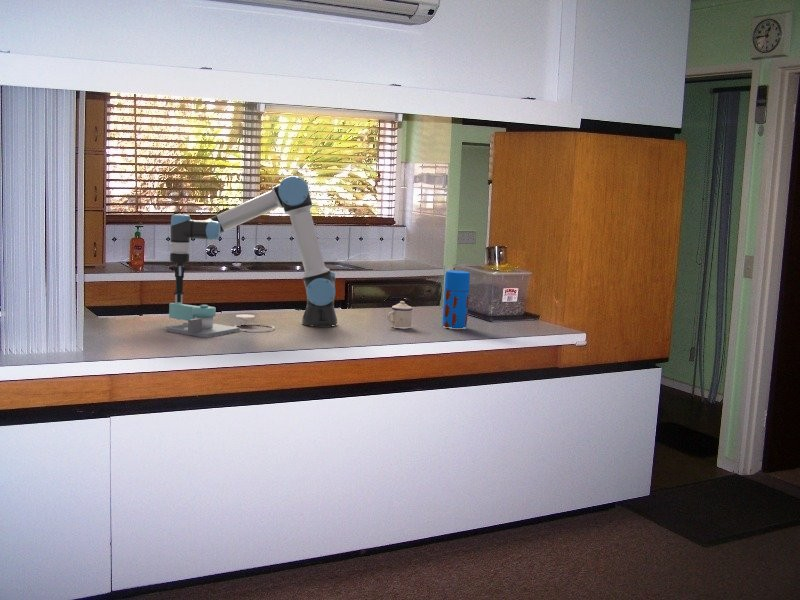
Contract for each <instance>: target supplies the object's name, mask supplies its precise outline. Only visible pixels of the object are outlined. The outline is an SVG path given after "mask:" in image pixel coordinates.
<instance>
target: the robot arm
mask: <svg viewBox="0 0 800 600" xmlns="http://www.w3.org/2000/svg"><path fill="white" fill-rule="evenodd" d="M312 207H313V202H312V199H311V195H310V190H309V186H308V183H307V182H306V180H305V179H304V178H302V177H301V176H298V175H289V176H286V177H285V178H283V179H282V180H281V182H280V183H278V184H277V185H275V186H273V187H271V190H270V191H267V192H265V193H262V194H261V195H259V196H256V197H254V198H252V199H249V200H247V201H244V202H243V203H241V204H238V205H236V206H234V207H231V208H230V209H227V210H225V211H223V212H221V213H218V214H216V215H213V216H212V217H209V218H207V219H205V220H204V219H203V220H202V219H201V220H197V219H196V220H195V219H191V216H190V215H189V214H183V213H182V214H180V213H179V214H178V213H176V214H175V213H174V214H172V215H171V218H170V219H171V220H170V243H169V244H168V247H170V254H169V261H170V262H171V263H176V264H175V265H174V277H175V290H174V293H173V295H174V296H175V298H174V299H175V302H174V303H179V304H183V294H185V292H184V291H183V286H184V277H185V269H186V268H185V266H184V264H187V263H189V262H190V250H191V249H190V245H191V242H190V241H191V240H190V239H195V240H196V239H199V240H210V241H211V240H213V241H214V240H219V239H220V236H221V234H222V233H224V232H226V231H228V230H230V229H233V228H236V227H237V226H240V225H243V223H246V222H249V221H251V220H253V219H255V218H257V217H260V216H262V215H264V214H267V213H269V212H271V211H273V210H276V209H277V208H281V209H283V211H284V213H285V214H287V215H288V216H289V218H290V222H291V225H292V230H293V233H294V236H295V240H296V244H297V248H298V250H299V255H300V259H301V262H302V266H303V270H304V274H303V275H302V279H303V283H304V287H305V291H306V293H305V294H306V307H305V310H304V312H303V315H302V319H301V324H302V323H303V324H306V325H305V326H307V325H313V326H312V327H314V326H332V325H336V324H337V325H338V317H337V314H336V311H335V297H336V293H337V291H336V273H335V272H333V271H331V269H330V268H328V267H326V265H325V260H324V256H323V253H322V249H321V246H320V243H319V239H318V236H317V231H316V228H315V224H314V219H313V217H312V212H311V209H312ZM303 324H302V325H303ZM337 325H336V326H337ZM332 327H333V326H332Z"/></svg>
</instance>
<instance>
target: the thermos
mask: <svg viewBox="0 0 800 600" xmlns="http://www.w3.org/2000/svg"><path fill="white" fill-rule="evenodd" d="M444 275H445V276H444V287H443V288H444V290H443V291H444V292H443V306H442V327H443V326H445V327H452V328H463V327H466V328H467V324H468V323H467V322H468V310H469V299H470V298H469V295H470V281H471V280H470V279H471V274H470V272H469V271H465V270H464V271H463V270H445V274H444Z"/></svg>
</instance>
